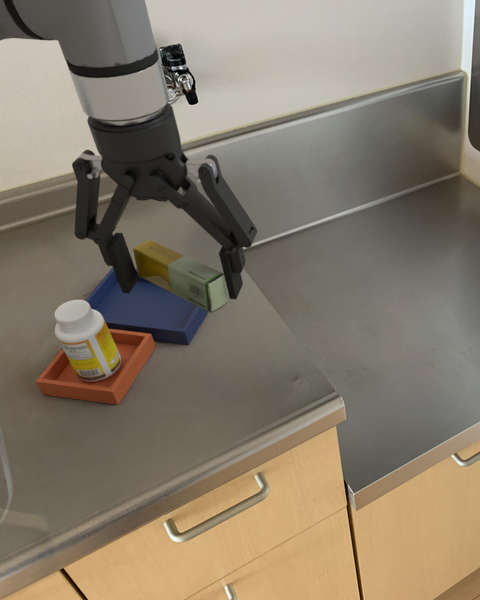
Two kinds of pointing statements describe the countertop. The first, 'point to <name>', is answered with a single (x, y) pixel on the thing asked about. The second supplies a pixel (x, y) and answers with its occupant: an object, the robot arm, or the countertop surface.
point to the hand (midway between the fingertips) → (183, 288)
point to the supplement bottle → (86, 341)
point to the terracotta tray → (110, 390)
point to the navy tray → (146, 310)
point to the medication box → (181, 275)
